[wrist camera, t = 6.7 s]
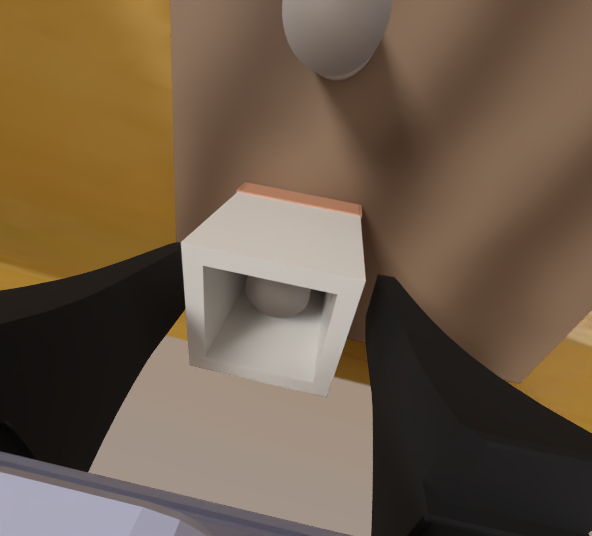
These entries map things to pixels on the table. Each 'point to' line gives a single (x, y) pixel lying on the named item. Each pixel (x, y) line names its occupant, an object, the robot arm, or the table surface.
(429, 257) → the pin board
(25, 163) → the table surface
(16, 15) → the table surface
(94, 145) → the table surface
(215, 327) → the sleeve
